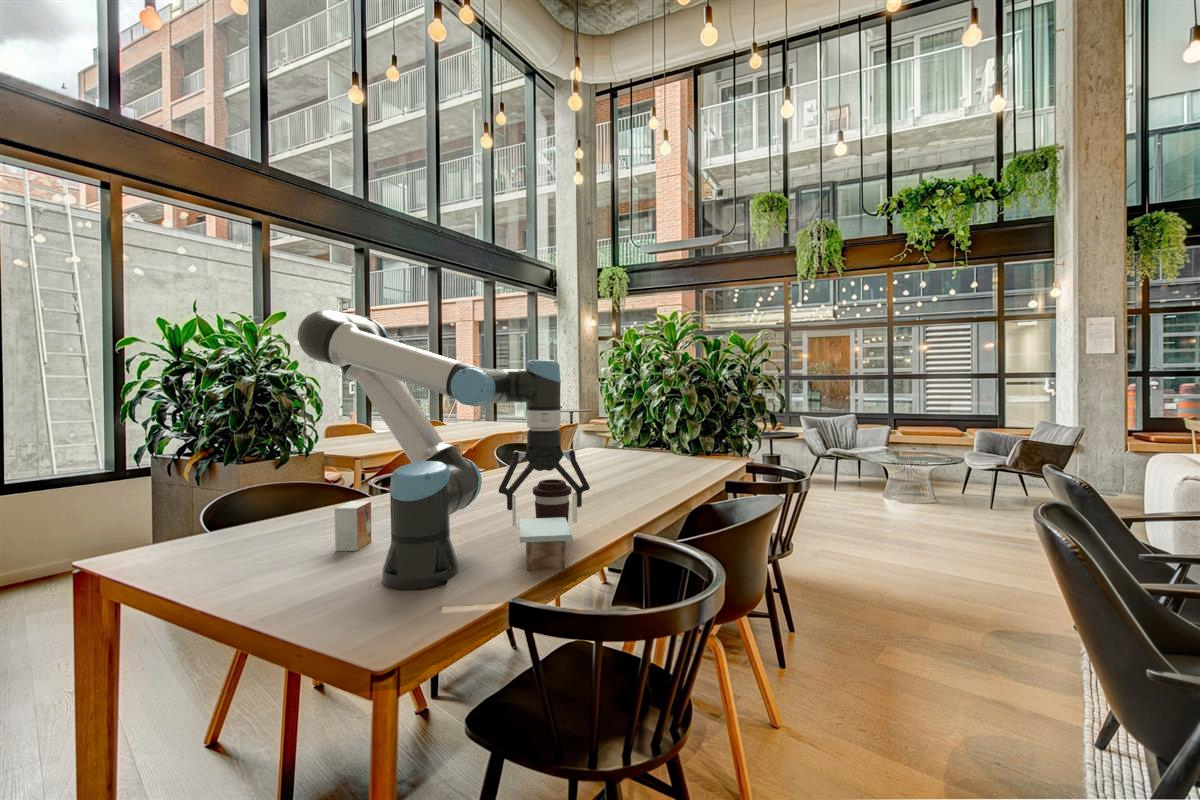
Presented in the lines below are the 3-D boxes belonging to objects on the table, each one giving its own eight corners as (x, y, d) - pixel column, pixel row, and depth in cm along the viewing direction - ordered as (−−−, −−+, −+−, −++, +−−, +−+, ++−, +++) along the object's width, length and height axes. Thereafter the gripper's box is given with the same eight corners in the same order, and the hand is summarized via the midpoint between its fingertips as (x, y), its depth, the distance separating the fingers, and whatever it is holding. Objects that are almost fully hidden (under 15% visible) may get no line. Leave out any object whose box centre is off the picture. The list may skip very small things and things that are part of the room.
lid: (520, 546, 114) (520, 537, 114) (519, 527, 129) (519, 519, 129) (571, 544, 116) (571, 534, 116) (565, 525, 131) (565, 517, 131)
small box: (357, 551, 130) (356, 508, 130) (334, 551, 130) (333, 508, 130) (372, 541, 138) (371, 500, 138) (350, 541, 139) (349, 500, 138)
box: (527, 574, 115) (527, 541, 115) (525, 553, 129) (525, 524, 129) (564, 572, 117) (564, 540, 116) (559, 551, 130) (559, 522, 130)
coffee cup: (553, 547, 134) (553, 486, 134) (525, 539, 140) (524, 482, 140) (579, 537, 142) (579, 480, 141) (551, 531, 148) (550, 476, 147)
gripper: (486, 431, 116) (487, 529, 117) (601, 429, 120) (601, 524, 121) (488, 428, 123) (489, 520, 124) (596, 426, 127) (596, 516, 128)
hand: (544, 522), depth 122 cm, fingers open, 13 cm apart
